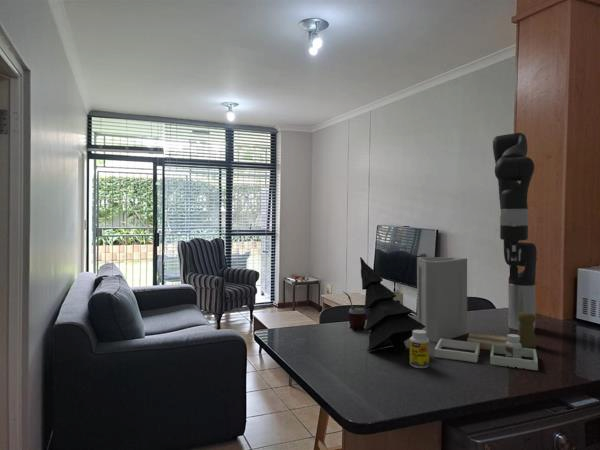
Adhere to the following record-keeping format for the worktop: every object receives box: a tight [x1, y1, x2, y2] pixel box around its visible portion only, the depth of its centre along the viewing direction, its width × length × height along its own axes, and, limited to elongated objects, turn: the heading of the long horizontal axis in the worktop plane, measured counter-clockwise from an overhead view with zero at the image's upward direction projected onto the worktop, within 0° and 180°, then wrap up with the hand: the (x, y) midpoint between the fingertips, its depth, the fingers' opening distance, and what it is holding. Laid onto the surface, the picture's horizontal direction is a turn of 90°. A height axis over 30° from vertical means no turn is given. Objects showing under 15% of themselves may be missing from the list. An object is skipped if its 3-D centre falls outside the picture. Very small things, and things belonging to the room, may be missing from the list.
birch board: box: [466, 332, 508, 351], centre depth 147 cm, size 12×12×2 cm
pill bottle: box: [504, 333, 523, 359], centre depth 131 cm, size 4×4×8 cm
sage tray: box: [489, 344, 539, 371], centre depth 131 cm, size 12×12×2 cm
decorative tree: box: [359, 257, 426, 355], centre depth 146 cm, size 15×15×35 cm
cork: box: [517, 312, 537, 349], centre depth 146 cm, size 6×6×11 cm
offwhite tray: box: [434, 338, 481, 363], centre depth 138 cm, size 12×12×2 cm
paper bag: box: [416, 256, 468, 344], centre depth 161 cm, size 19×15×28 cm
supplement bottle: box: [409, 330, 430, 369], centre depth 128 cm, size 6×6×10 cm
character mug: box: [391, 290, 404, 305], centre depth 174 cm, size 11×7×13 cm, turn 131°
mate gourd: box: [343, 291, 367, 332], centre depth 169 cm, size 8×8×15 cm
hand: (513, 277), depth 131 cm, fingers open, 8 cm apart
